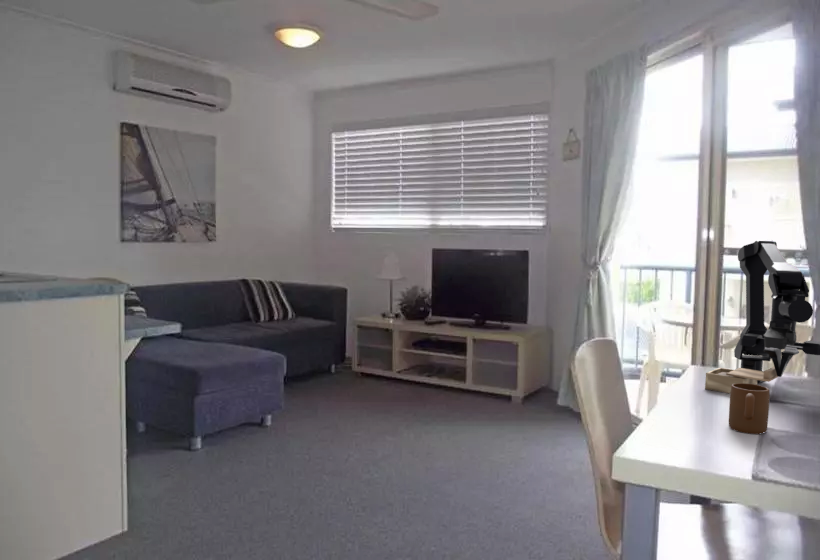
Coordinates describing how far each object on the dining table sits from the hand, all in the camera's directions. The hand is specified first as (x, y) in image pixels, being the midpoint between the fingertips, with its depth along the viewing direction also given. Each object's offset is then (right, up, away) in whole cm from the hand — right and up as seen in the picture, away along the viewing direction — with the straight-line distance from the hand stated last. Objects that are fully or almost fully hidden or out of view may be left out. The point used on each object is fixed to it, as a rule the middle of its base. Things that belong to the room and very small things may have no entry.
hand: (779, 376), depth 177 cm
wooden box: (-9, -5, +8) cm, 13 cm away
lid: (-5, 0, +4) cm, 6 cm away
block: (-9, -4, +9) cm, 14 cm away
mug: (-25, -8, -32) cm, 41 cm away
